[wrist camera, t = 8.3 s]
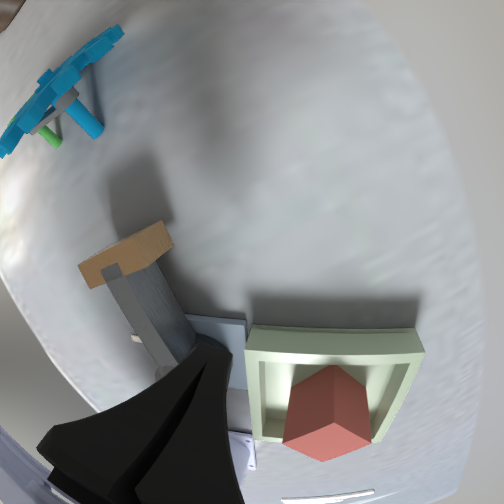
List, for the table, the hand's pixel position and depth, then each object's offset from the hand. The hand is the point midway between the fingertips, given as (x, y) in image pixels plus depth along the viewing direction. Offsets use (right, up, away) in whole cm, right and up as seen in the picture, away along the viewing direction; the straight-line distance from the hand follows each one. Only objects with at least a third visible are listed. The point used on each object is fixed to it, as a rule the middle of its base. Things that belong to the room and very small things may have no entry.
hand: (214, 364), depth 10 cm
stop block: (+7, -5, +7) cm, 12 cm away
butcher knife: (+14, -35, +19) cm, 43 cm away
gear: (-10, +15, +3) cm, 18 cm away
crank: (-3, 0, +7) cm, 8 cm away
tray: (+7, -5, +8) cm, 12 cm away
